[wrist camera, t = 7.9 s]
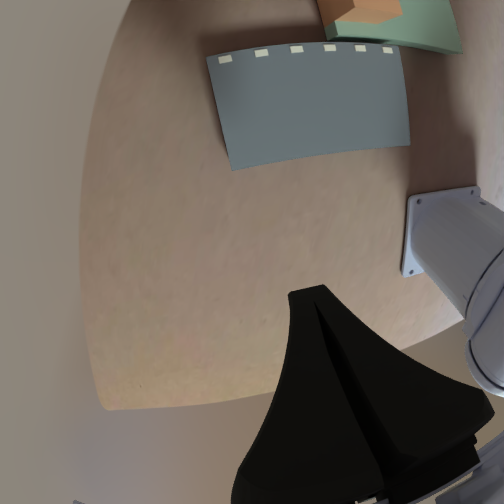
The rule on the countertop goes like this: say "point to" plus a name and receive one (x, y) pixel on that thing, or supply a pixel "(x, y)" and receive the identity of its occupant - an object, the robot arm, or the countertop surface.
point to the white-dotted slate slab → (309, 100)
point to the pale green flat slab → (393, 23)
